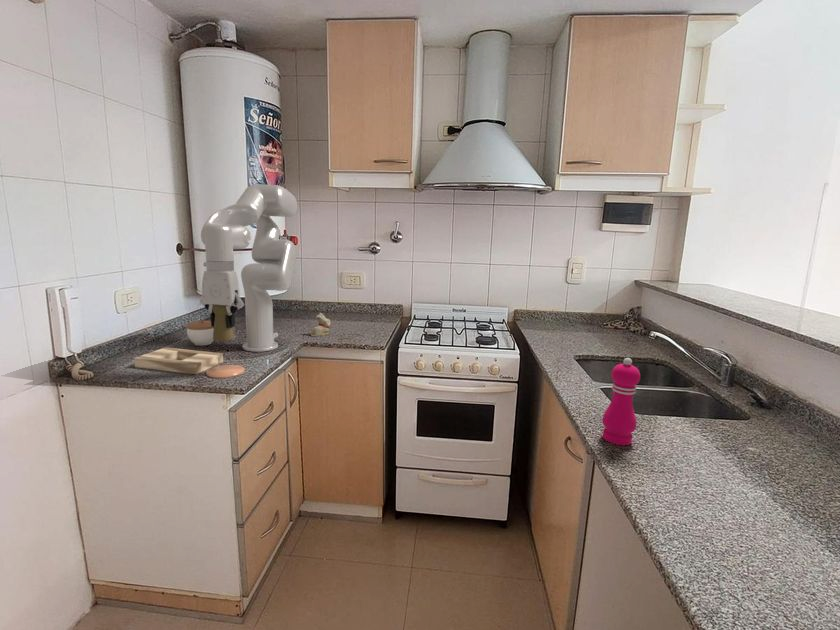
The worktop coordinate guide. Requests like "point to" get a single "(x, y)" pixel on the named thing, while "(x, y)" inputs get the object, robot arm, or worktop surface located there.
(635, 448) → the worktop surface
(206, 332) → the white bowl
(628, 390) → the pepper mill
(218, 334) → the olive waisted cylinder
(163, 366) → the wooden tray
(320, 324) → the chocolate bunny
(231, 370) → the coaster
